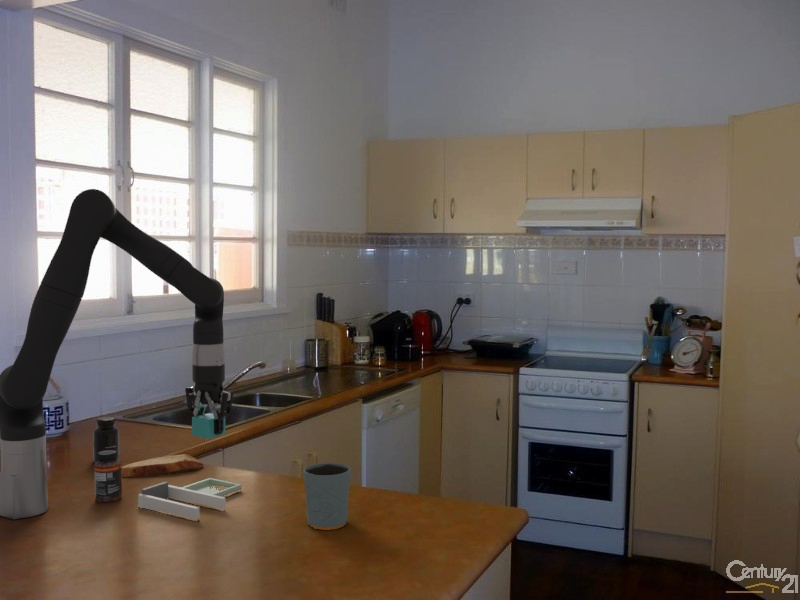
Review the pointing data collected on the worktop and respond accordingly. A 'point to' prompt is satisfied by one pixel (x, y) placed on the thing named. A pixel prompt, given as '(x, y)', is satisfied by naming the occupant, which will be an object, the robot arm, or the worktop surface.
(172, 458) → the bread slice
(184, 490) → the white u-shaped frame
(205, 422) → the teal block
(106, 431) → the supplement bottle
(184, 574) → the worktop surface
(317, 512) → the grey blue cup
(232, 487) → the tray
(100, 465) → the supplement bottle
